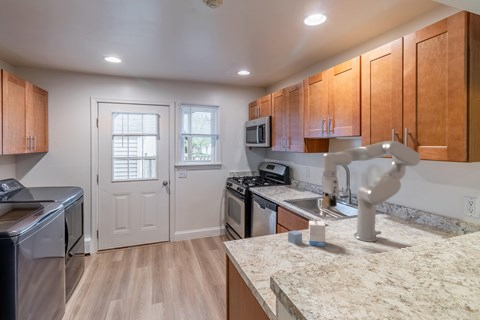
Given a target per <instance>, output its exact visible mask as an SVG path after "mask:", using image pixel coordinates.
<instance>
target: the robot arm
mask: <svg viewBox="0 0 480 320" xmlns="http://www.w3.org/2000/svg"><path fill="white" fill-rule="evenodd" d="M387 156H388V157H389V156H390V157H391V166H390V167H389V168H388V169H386V171H384V172H382V173H381V174H379V175H378V176H377V177H375V178H374V180H373V182H372V184H373V185H369V184H362V185H360V186H359V187H358V188H357V191H356V199H357V219H356V232H355V233H354V234H353V237H354V238H355V239H357V240H360V241H363V242H373V243H374V242H377V241H378V239H379V238H378V236H377V235H382V231H381V230H376V214H377V210H376V209H377V207H376V206H378V205H381V204H383V203H385V202H386V201H387V200H389V199H390V198H392V197H393V196H395V195H396V194H397V193H398V192H399V191H400V190H401V187H402V182H401V180H402V179H403V178H404V176H405V175H406V168H407V167H415V166H417V165H419V164H420V162H421V155H420V154H419V153H418V152H417V151H416V150H414V149H412V148H411V147H408V146H406V145H405V144H403V143H401V142H399V141H396V140H385V141H381V142H377V143H372V144H369V145H364V146H359V147H354V148H350V149H344V150H342V151H338V152H337V151H336V152H335V153H333V152H326V153H324V154H323V155H322V184H321V192H322V195H323V196H329V195H331V199H330V206H336V198H337V199H338V196H339V195H340V194H339V193H340V191H339V190H340V189H339V188H340V187H339V179H338V168H337V167H338V166H349V165H351V163H352V162H357V161H360V162H361V161H362V162H364V161H371V160H375V159H378V158H385V157H387ZM336 207H337V206H336Z"/></svg>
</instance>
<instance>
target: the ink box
mask: <svg viewBox="0 0 480 320" xmlns="http://www.w3.org/2000/svg"><path fill="white" fill-rule="evenodd" d="M308 244H309V246H311V245H316V246H317V247H326V224H325V221H323V220H316V218H315V217H313V220H308ZM316 246H315V247H316Z"/></svg>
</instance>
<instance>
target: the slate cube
mask: <svg viewBox="0 0 480 320" xmlns="http://www.w3.org/2000/svg"><path fill="white" fill-rule="evenodd" d="M287 242H289V243H291V244H292V243H293V244H292V245H294V244H295V245H298V244H297V243H299V244H301V242H302V243H303V233H302V232H300V231H297V230H295V229H294V230H291V231H288V232H287Z"/></svg>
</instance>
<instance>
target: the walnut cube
mask: <svg viewBox="0 0 480 320" xmlns="http://www.w3.org/2000/svg"><path fill="white" fill-rule="evenodd" d="M330 199H331V195H330V194H329V196H324V195H323V196H322V205H323V206H324V207H326V208H336V207H337V205H338V204H337V203H338V197H337V198H336V206H330Z"/></svg>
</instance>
